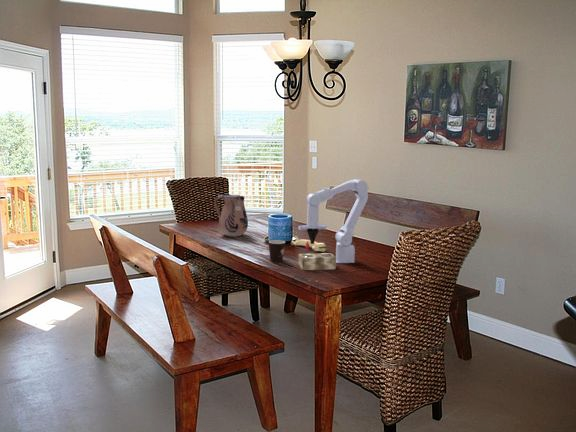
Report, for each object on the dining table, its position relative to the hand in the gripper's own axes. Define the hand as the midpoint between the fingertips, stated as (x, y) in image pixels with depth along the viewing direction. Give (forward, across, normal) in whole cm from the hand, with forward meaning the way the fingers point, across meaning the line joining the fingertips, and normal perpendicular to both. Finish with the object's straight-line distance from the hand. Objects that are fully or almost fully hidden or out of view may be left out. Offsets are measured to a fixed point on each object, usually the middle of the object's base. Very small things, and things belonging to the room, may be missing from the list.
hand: (312, 243), depth 303 cm
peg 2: (+10, +5, -9) cm, 15 cm away
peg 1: (+10, -4, -9) cm, 15 cm away
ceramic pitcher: (+10, -33, +72) cm, 79 cm away
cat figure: (+11, +7, +31) cm, 34 cm away
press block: (+10, 0, -9) cm, 14 cm away
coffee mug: (+10, -16, +7) cm, 20 cm away
